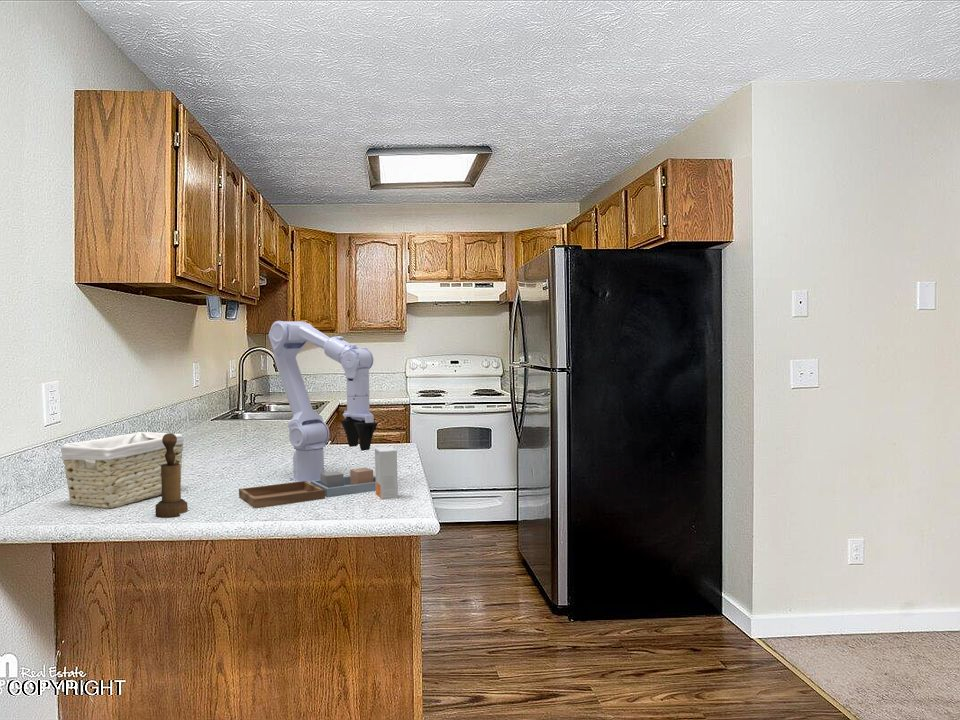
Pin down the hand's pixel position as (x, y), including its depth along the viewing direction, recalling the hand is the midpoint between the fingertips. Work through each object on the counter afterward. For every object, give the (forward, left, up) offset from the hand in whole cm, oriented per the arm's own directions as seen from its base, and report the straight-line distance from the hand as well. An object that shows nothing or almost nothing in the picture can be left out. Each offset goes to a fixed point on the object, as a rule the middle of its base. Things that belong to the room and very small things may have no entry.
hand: (359, 448), depth 187 cm
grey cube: (+2, -8, -10) cm, 13 cm away
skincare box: (+15, 0, -10) cm, 18 cm away
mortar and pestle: (+1, -46, -10) cm, 47 cm away
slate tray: (+2, -4, -10) cm, 11 cm away
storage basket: (-24, -52, -11) cm, 58 cm away
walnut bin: (+2, -21, -10) cm, 23 cm away
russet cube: (+2, 0, -10) cm, 10 cm away
